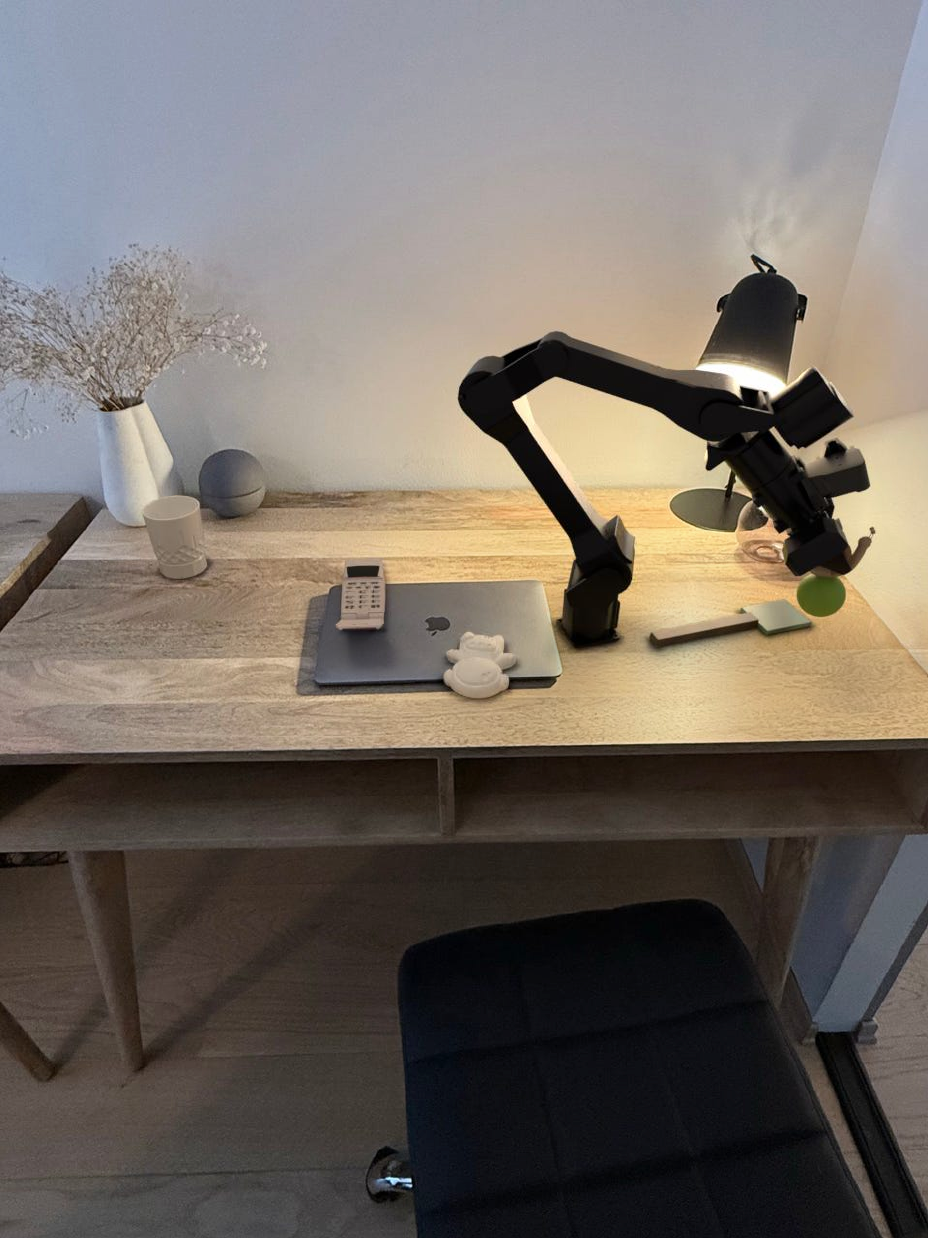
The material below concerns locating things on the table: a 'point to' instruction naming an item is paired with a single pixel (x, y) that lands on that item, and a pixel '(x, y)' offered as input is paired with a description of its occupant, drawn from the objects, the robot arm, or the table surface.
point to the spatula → (737, 623)
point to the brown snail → (829, 584)
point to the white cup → (176, 535)
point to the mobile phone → (362, 594)
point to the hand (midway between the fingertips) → (846, 568)
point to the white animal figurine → (479, 666)
